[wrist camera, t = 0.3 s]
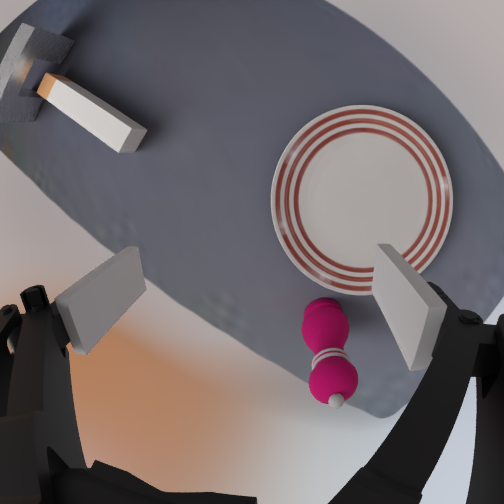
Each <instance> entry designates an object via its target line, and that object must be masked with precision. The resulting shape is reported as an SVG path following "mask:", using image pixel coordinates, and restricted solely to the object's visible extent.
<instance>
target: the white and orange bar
mask: <svg viewBox="0 0 504 504" xmlns="http://www.w3.org/2000/svg"><path fill="white" fill-rule="evenodd" d="M36 93H38V94H39V95H41V96H42V97H43V98H45V99H46V100H47V101H49V102H50V103H51V104H53V105H54V106H56V107H57V108H58V109H60V110H61V111H62V112H64V113H65V114H66V115H68V116H69V117H70V118H72V119H73V120H75V121H76V122H77V123H79V124H80V125H81V126H83V127H84V128H85V129H87V130H88V131H90V132H91V133H92V134H94V135H95V136H96V137H98V138H99V139H100V140H102V141H103V142H104V143H106V144H107V145H109V146H110V147H111V148H113V149H114V150H115V151H117V152H118V153H122V152H135V151H136V149H137V148H138V146H139V144H140V142H141V141H142V139H143V137H144V136H145V134H146V132H147V131H148V130H147V129H145V128H144V127H142V126H141V125H139V124H138V123H136V122H135V121H133V120H132V119H130V118H129V117H127V116H126V115H124V114H123V113H121V112H120V111H118V110H117V109H115V108H114V107H112V106H111V105H109V104H107V103H106V102H104V101H103V100H101V99H100V98H98V97H96V96H95V95H93V94H92V93H90V92H89V91H87V90H85V89H84V88H82V87H81V86H79V85H77V84H76V83H74V82H72V81H71V80H69V79H68V78H66V77H64V76H61V75H56V74H51V73H46V74H45V76H44V78H43V80H42V82H41V84H40V86H39V88H38V90H37V92H36Z"/></svg>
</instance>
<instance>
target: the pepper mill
mask: <svg viewBox="0 0 504 504" xmlns="http://www.w3.org/2000/svg"><path fill="white" fill-rule="evenodd" d="M348 333H349V324H348V320H347V318H346V316H345V315H344V313H343V312H342V310H341V307H340V306H339V304H338V303H337V302H336V301H334V300H332V299H329V298H320V299H316V300H314V301H313V302H311V303H310V304H309V305H308V306H307V307H306V309H305V312H304V321H303V324H302V334H303V338H304V341H305V342H306V344H307V346H308V347H309V348H310V349H311V350H312V351H313V352H314V354H315V357H314V358H313V361H312V372H311V374H310V377H309V388H310V391H311V393H312V395H313V396H314V397H315V398H316V399H317V400H318V401H320V402H322V403H326V404H329V405H330V406H331V407H332V408H339V407H341V406H342V405H343V403H344V401H346V400H347V399H349V398H350V397H351V396H352V395H353V393H354V392H355V390H356V388H357V385H358V374H357V371H356V369H355V367H354V366H353V365H352V364H351V362H350V357H349V355H348V353H347V352H345V351H344V348H343V347H344V344H345V342H346V340H347V338H348Z"/></svg>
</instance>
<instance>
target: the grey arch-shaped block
mask: <svg viewBox="0 0 504 504" xmlns="http://www.w3.org/2000/svg"><path fill="white" fill-rule="evenodd" d="M74 42H75V41H74V40H72V39H69V38H67V37H65V36H62V35H60V34H57V33H54V32H51V31H48V30H45V29H42V28H38V27H35V26H32V25H28V24H25V23H22V24H21V26H20V27H19V29H18V31H17V33H16V35H15V36H14V38H13V40H12V42H11V44H10V46H9V48H8V50H7V52H6V54H5V56H4V58H3V60H2V63H1V65H0V123H5V122H34V120H35V118H36V116H37V113H38V111H39V108H40V106H41V104H42V102H43V99H44V98H43V97H42V96H40V95H39V94H38V93H36V92H35V91H34V90H32V89H27V88H21V87H22V85H23V83H24V80H25V78H26V76H27V74H28V72H29V70H30V68H31V66H32V64H33V62H34V60H35V59H40V60H44V61H49V62H53V63H57V64H62V62H63V60H64V58H65V57H66V55H67V53H68V52H69V50H70V48H71V47H72V45H73V43H74Z"/></svg>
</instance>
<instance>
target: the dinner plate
mask: <svg viewBox="0 0 504 504" xmlns="http://www.w3.org/2000/svg"><path fill="white" fill-rule="evenodd" d="M452 210H453V190H452V183H451V178H450V174H449V170H448V167H447V165H446V162H445V160H444V158H443V156H442V154H441V152H440V150H439V148H438V147H437V145H436V144H435V143H434V141H433V140H432V139H431V137H430V136H429V135H428V134H427V133H426V132H425V131H424V130H423V129H422V128H421V127H420V126H418V125H417V124H416V123H415V122H413V121H412V120H410V119H409V118H407V117H405V116H404V115H402V114H400V113H398V112H395V111H392V110H390V109H386V108H383V107H378V106H371V105H352V106H345V107H341V108H337V109H334V110H331V111H328V112H326V113H324V114H322V115H320V116H318V117H316V118H315V119H313V120H312V121H310V122H309V123H308V124H306V125H305V126H304V127H303V128H302V129H301V130H300V131H299V132H298V133H297V134H296V135H295V136H294V137H293V138H292V140H291V141H290V142H289V144H288V145H287V147H286V148H285V150H284V152H283V154H282V155H281V158H280V160H279V162H278V164H277V167H276V170H275V174H274V177H273V182H272V188H271V212H272V219H273V223H274V228H275V231H276V234H277V237H278V239H279V241H280V244H281V245H282V247H283V249H284V251H285V252H286V254H287V255H288V257H289V258H290V260H291V261H292V262H293V263H294V264H295V266H296V267H297V268H298V269H299V270H300V271H301V272H302V273H304V274H305V275H306V276H307V277H309V278H310V279H311V280H313V281H314V282H316V283H318V284H319V285H321V286H323V287H326V288H328V289H330V290H333V291H336V292H340V293H344V294H350V295H373V293H372V292H371V290H372V282H373V273H374V264H375V254H376V244H391V245H392V246H393V247H394V248H395V250H396V251H397V252H398V253H399V254H400V255H401V256H402V257H403V258H404V259H405V260H406V261H407V262H408V263H409V264H410V265H411V266H412V267H413V268H414V269H415V270H416V271H417V272H418V274H420V273H421V272H422V271H423V270H424V269H425V268H426V267H427V266H428V265H429V264H430V263H431V262H432V260H433V259H434V258H435V257H436V255H437V254H438V252H439V250H440V249H441V247H442V245H443V243H444V241H445V238H446V236H447V233H448V230H449V227H450V223H451V218H452Z"/></svg>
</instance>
